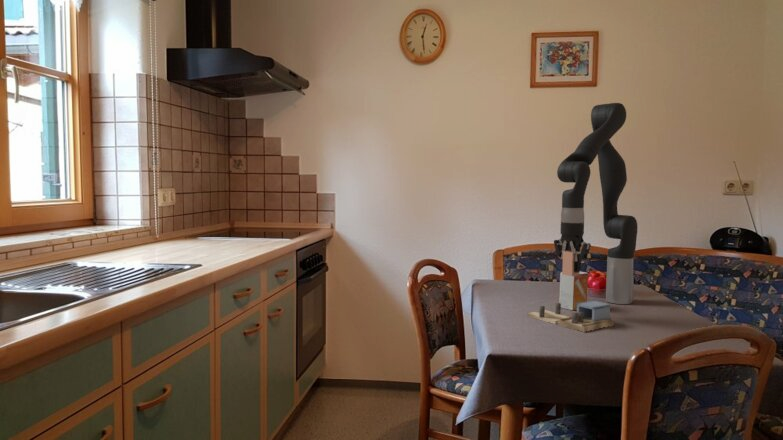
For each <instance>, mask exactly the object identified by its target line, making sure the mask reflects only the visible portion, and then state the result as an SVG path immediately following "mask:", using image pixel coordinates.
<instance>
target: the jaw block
mask: <svg viewBox="0 0 783 440" xmlns="http://www.w3.org/2000/svg"><path fill="white" fill-rule="evenodd" d="M576 252H577V251H576ZM577 256H578V254H577ZM574 261H575V260H574V254H573V253H572V251H563V268H562V271H561V272H562V275H568V276H577V275H580V271H581V270H580V271H579V272H577V273H576V272H574Z"/></svg>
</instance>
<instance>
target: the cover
mask: <svg viewBox="0 0 783 440" xmlns="http://www.w3.org/2000/svg"><path fill="white" fill-rule="evenodd" d="M577 312H584V318H585V317H589V316H592V322H596V321H600V320H605V319H609V318H610V316H611V303H610V304H609V303H605V302H601V301H596V300H587V302H582V303H577V309H576V313H577ZM610 319H611V318H610Z"/></svg>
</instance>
